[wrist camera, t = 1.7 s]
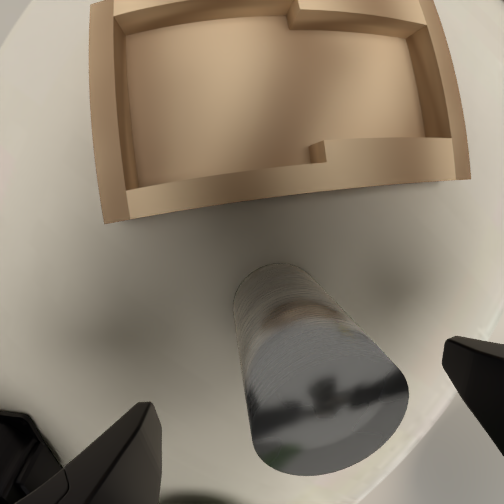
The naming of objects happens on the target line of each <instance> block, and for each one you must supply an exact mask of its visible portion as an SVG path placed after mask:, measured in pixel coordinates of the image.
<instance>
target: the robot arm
mask: <svg viewBox="0 0 504 504" xmlns="http://www.w3.org/2000/svg"><path fill="white" fill-rule="evenodd" d="M442 366H443V368H444V370H445V372H446V373H447V375H448V376H449V378H450V380H451V381H452V383H453V385H454V386H455V388H456V389H457V391H458V393H459V395H460V396H461V398H462V399H463V401H464V402H465V403H466V405H467V406H468V408H469V409H470V410H471V412H472V413H473V414H474V416H475V417H476V418H477V420H478V421H479V422H480V424H481V425H482V427H483V428H484V429H485V431H486V432H487V433H488V435H489V436H490V438H491V439H492V440H493V442H494V443H495V444H496V446H497V447H498V449H499V450H500V452H501V453H502V455H503V456H504V344H498V343H493V342H487V341H482V340H476V339H471V338H466V337H460V336H454V337H452V338H449V339H447V340H446V342H445V344H444V351H443V358H442ZM64 468H65V469H64ZM64 468H63V469H62V468H61V466H60V465H59V463H58V462H57V460H56V459H55V458H54V456H53V454H52V453H51V451H50V450H49V448H48V447H47V445H46V444H45V442H44V440H43V439H42V437H41V435H40V434H39V432H38V430H37V429H36V427H35V425H34V424H33V422H32V420H31V419H30V418H29V417H28V416H27V415H25V414H20V413H11V412H3V411H0V504H158V503H159V494H160V485H161V475H162V428H161V423H160V420H159V418H158V415H157V413H156V410H155V407H154V405H153V403H151V402H138V403H137V404H135V405H134V406H133V407H132V408H131V409H130V410H129V411H128V412H127V413H125V414H124V415H123V416H122V417H121V418H120V419H119V420H118V421H117V422H115V423H114V424H113V425H112V426H111V427H110V428H109V429H107V430H106V431H105V432H104V433H103V434H102V435H101V436H100V437H98V438H97V439H96V440H95V441H94V442H93V443H92V444H90V445H89V446H88V447H87V448H86V449H85V450H84V451H82V452H81V453H80V454H79V455H78V456H77V457H75V458H74V459H73V460H72V461H71V462H70V463H68V464H67V465H66V466H65V467H64Z"/></svg>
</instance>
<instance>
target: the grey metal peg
mask: <svg viewBox="0 0 504 504" xmlns="http://www.w3.org/2000/svg"><path fill="white" fill-rule="evenodd" d="M233 312H234V320H235V327H236V334H237V342H238V349H239V356H240V363H241V370H242V376H243V383H244V390H245V396H246V403H247V410H248V416H249V422H250V429H251V435H252V441H253V445H254V448H255V451H256V452H257V454H258V456H259V457H260V458H261V459H262V460H263V461H264V462H265V463H266V464H267V465H268V466H270V467H272V468H274V469H276V470H278V471H280V472H283V473H287V474H291V475H298V476H315V475H323V474H328V473H332V472H336V471H339V470H342V469H345V468H347V467H350V466H352V465H354V464H356V463H358V462H360V461H362V460H363V459H365V458H367V457H368V456H370V455H371V454H373V453H374V452H375V451H377V450H378V449H379V448H380V447H381V446H382V445H383V444H384V443H385V442H386V441H387V440H388V439H389V438H390V437H391V436H392V435H393V433H394V432H395V431H396V429H397V428H398V426H399V425H400V423H401V421H402V419H403V417H404V415H405V412H406V409H407V405H408V399H409V390H408V385H407V381H406V379H405V377H404V375H403V374H402V372H401V371H400V370H399V369H398V367H397V366H396V365H395V364H394V363H393V362H392V361H391V360H390V359H389V358H388V357H387V356H386V355H385V354H384V352H383V351H382V350H381V349H380V348H379V347H378V346H377V345H376V344H375V343H374V342H373V341H372V340H371V339H370V338H369V337H368V335H367V334H366V333H365V332H364V331H363V330H362V329H361V328H360V327H359V326H358V325H357V324H356V323H355V322H354V321H353V320H352V319H351V318H350V317H349V315H348V314H347V313H346V312H345V311H344V310H343V309H342V308H341V307H340V306H339V305H338V304H337V303H336V302H335V301H334V300H333V299H332V298H331V297H330V296H329V295H328V294H327V293H326V292H325V291H324V289H323V288H322V287H321V286H320V285H319V284H318V283H317V282H316V281H315V280H314V279H313V278H312V277H311V276H310V275H309V274H308V273H307V272H305V271H304V270H302V269H300V268H298V267H296V266H293V265H289V264H271V265H267V266H264V267H261V268H259V269H257V270H255V271H254V272H252V273H251V274H250V275H249V276H247V277H246V278H245V279H244V281H243V282H242V283H241V285H240V286H239V288H238V290H237V292H236V295H235V298H234V303H233Z"/></svg>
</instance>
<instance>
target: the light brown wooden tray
mask: <svg viewBox="0 0 504 504" xmlns="http://www.w3.org/2000/svg"><path fill="white" fill-rule="evenodd" d="M89 89H90V109H91V123H92V135H93V146H94V155H95V164H96V172H97V180H98V187H99V194H100V201H101V207H102V213H103V219H104V224H108V223H114V222H119V221H124V220H130V219H135V218H141V217H146V216H152V215H158V214H164V213H170V212H176V211H182V210H188V209H194V208H201V207H207V206H214V205H220V204H227V203H234V202H241V201H248V200H256V199H263V198H271V197H278V196H286V195H295V194H303V193H312V192H320V191H329V190H339V189H349V188H359V187H369V186H380V185H392V184H404V183H417V182H432V181H447V180H465V179H471V173H470V161H469V151H468V143H467V135H466V128H465V121H464V115H463V109H462V104H461V98H460V93H459V89H458V84H457V79H456V75H455V71H454V67H453V63H452V59H451V55H450V51H449V48H448V44H447V41H446V37H445V34H444V31H443V28H442V24H441V21H440V18H439V15H438V13H437V10H436V7H435V4H434V1H433V0H104V1H101V2H97V3H94V4H91V5H90V23H89Z"/></svg>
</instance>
